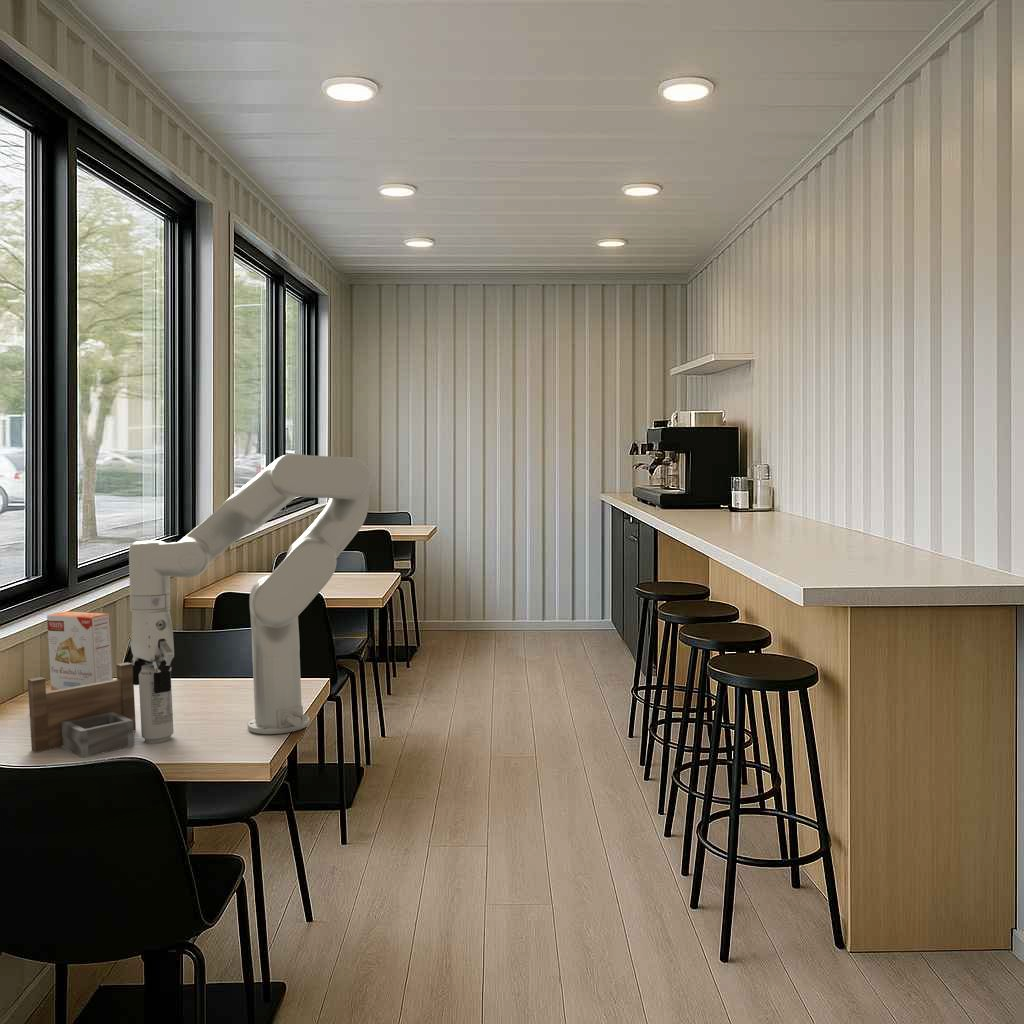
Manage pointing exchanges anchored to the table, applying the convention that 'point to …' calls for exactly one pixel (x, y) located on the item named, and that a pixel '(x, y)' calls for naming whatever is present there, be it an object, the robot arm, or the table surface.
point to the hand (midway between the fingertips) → (151, 687)
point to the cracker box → (79, 648)
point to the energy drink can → (154, 708)
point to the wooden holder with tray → (84, 715)
